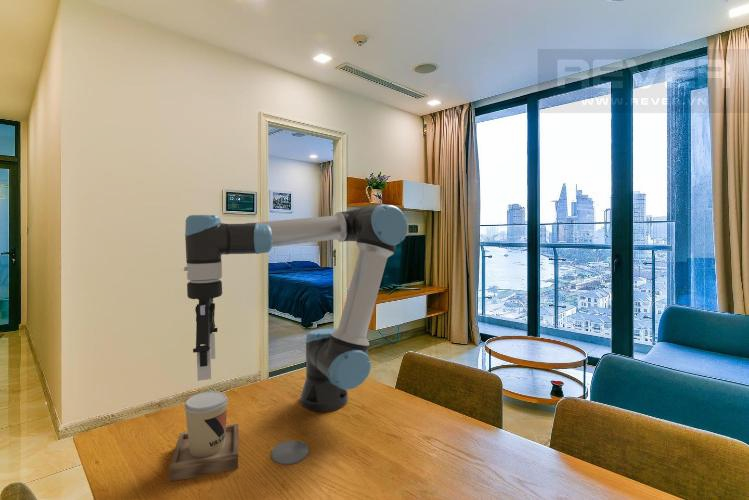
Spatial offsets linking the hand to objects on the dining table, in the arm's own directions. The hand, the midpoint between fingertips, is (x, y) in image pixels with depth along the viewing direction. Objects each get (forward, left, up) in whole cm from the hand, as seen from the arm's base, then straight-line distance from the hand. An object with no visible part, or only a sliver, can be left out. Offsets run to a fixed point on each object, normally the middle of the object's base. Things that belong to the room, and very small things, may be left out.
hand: (207, 368), depth 88 cm
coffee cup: (0, 0, -20) cm, 20 cm away
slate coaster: (-19, +5, -22) cm, 29 cm away
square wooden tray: (0, 0, -22) cm, 22 cm away
